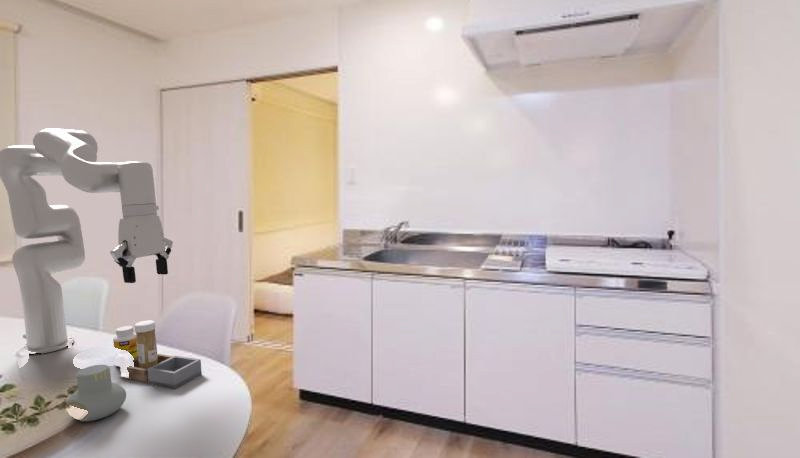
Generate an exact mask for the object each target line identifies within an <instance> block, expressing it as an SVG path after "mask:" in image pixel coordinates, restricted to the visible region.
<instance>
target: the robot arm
mask: <svg viewBox="0 0 800 458" xmlns="http://www.w3.org/2000/svg"><path fill="white" fill-rule="evenodd" d="M98 148H99V147H98V143H97V141H96V138H95V137H94V136H92V134H90V132H89V133H88V132H87V131H84V130H77V129H76V130H75V129H66V128H65V129H64V128H62V129H61V128H44V129H42V130H39V131H38V132H37V133H35V135H34V136H33V139H32V144H31V145H30V144H29V145H26V144H24V145H23V144H22V145H20V144H18V145H17V144H15V145H9V146H6V147H3V148H1V149H0V179H1V182H2V183H3V185H4V188H5V190H6V192H7V196H8V202H9V210H10V214H11V220H12V224H13V229H14V232H15V235H16V236H17V237H19V238H20V239H23V240H35V239H36V240H37V239H45V238H53V237H57V240H54V241H45V242H44V241H43V242H37V243H30V244H26V245H23V246H20V247H18V248H17V249H16V250H15V251H14V252H13V254H12V257H11V258H12V259H11V260H12V264H13V269H14V271H15V274H16V277H17V279H18V284H19V288H20V295H21V304H22V311H23V319H24V321H23V322H24V328H25V333H24V334H23V335H22V338H23V339H24V340H25V339H26V344H24V345H23V346H21V348H20V351H21V350H28V351H31V352H36V353H41V354H48V353H52V352H56V351H59V350H63V349H65V348H67V347H66V345H67V343H68V342H69V341H71V340H72V341H73V343H74V342H75V337H73V336H70V335H68V332H67V331H68V330H67V324H66V323H67V322H66V313H65V305H64V303H65V302H64V295H63V288H62V285H61V284H60V283H59V282H58V280H56V279H55V277H53V276H52V275H53V274H56V273H61V272H66V271H71V270H75V269H76V270H77V269H78V268H80V267H82V266H83V264H84V263H85V259H86V254H85V253H86V251H85V245H84V239H83V231H82V226H81V221H80V218H79V214H78V213H77V211H76V210H75V209H74V208H73V207H71V206H69V205H64V204H54V205H49V203H48V200H47V198H48V197H47V193H46V190H45V188H44V187H43V186H42V185H41V184H40V183H39V181H38V180H36V179H35V178H34V177H33V176H42V177H43V176H48V177H49V176H50V177H51V176H52V177H53V176H62V177H63V178H64V181H66V182H67V183H68V184H69V185H70V186H73V187H74V188H76V189H78V190H80V191H81V192H85V193H88V194H89V193H90V194H100V193H101V194H104V193H105V194H106V193H120V203H121V211H122V217H121V218H120V219H119V223H118V230H117V231H118V237H117V238H118V245H116V246H115V247H114V248H113V249H112V250H110V252H109V253H110V255H111V257H112V258H113V260H114V262H115V263H116V264H117V265H118V266H119V267H120V268H121V269H122V276H123V283H125V284H135V283H136V282H137V279H136V269H135V266H133V265H134V262H135V260H136V259H140V258H145V257H149V256H153V255H154V256H155V257H156V259H155V269H156V274H157V275H168V274H169V271H168V270H169V269H168V259H169V257H170V256H169V255H170V254H171V252H172V247H173V243H174V242H173V241H172V240H171V239H168V238H166V237H165V235H164V229H163V225H162V221H161V218H160V216H159V215H158V211H159V210H160V207H159V205H157V200H156V190H155V179H154V171H153V165H152V164H151V163H149V162H147V161H125V162H100V161H98V151H99V150H98ZM41 354H40V355H41Z"/></svg>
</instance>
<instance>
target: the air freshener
mask: <svg viewBox="0 0 800 458" xmlns="http://www.w3.org/2000/svg"><path fill="white" fill-rule="evenodd" d="M111 375H112V374H111V368H110V366H109V365H107V364H95V365H94V364H93V365H91V366H87V367H85V368H81V369H80V370H79V371H78V372H77V373H76V383H77V384H76V385H77V390H76V391H75V392H74V393H72V394H71V395H70V396H69V398H68V399H67V400H66V402H65V404H66V403H67V404H69V405H71V406H74V407H77V408H80V409H84V410H87V411H88V414H87V415H86V416H85V417H84V418H83V419H81V420H80V421H79V422H86V423H87V422H94V421H98V420H101V419H103V418H106V417H108V416H111V415H112V414H113V413H115V412H116V411H117V410H119V409H120V408H121V407H122V406H123V404H124V403H125V401H126V399H127V392H126V390H125V388H124V387H123V386H122V385H120V384H118V383H116V382H112V376H111Z"/></svg>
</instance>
